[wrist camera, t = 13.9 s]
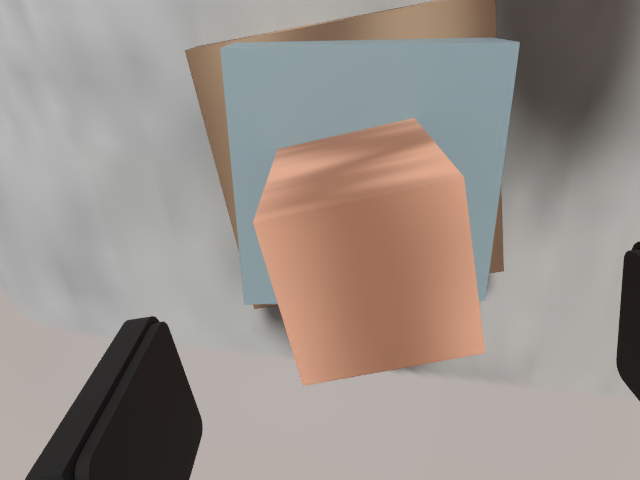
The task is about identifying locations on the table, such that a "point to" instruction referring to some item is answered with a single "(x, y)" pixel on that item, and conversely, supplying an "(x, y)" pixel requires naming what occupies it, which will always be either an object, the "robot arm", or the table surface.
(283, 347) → the table surface
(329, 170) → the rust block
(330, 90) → the top block
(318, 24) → the base block
